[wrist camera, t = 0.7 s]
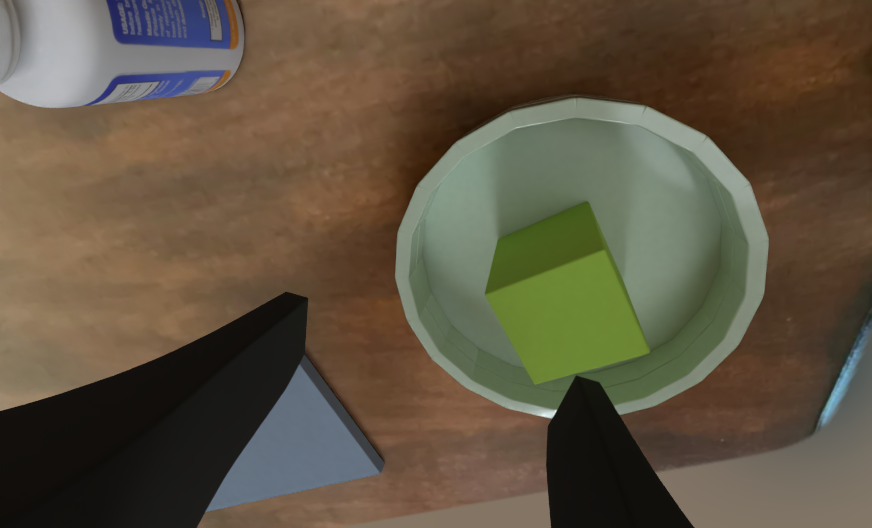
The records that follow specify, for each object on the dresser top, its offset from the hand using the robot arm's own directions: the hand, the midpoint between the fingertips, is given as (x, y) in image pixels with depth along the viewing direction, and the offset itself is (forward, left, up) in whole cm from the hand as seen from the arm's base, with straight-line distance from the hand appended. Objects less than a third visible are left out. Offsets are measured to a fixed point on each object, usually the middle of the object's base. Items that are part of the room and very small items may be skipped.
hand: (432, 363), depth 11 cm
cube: (0, -4, -9) cm, 9 cm away
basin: (0, -4, -9) cm, 10 cm away
